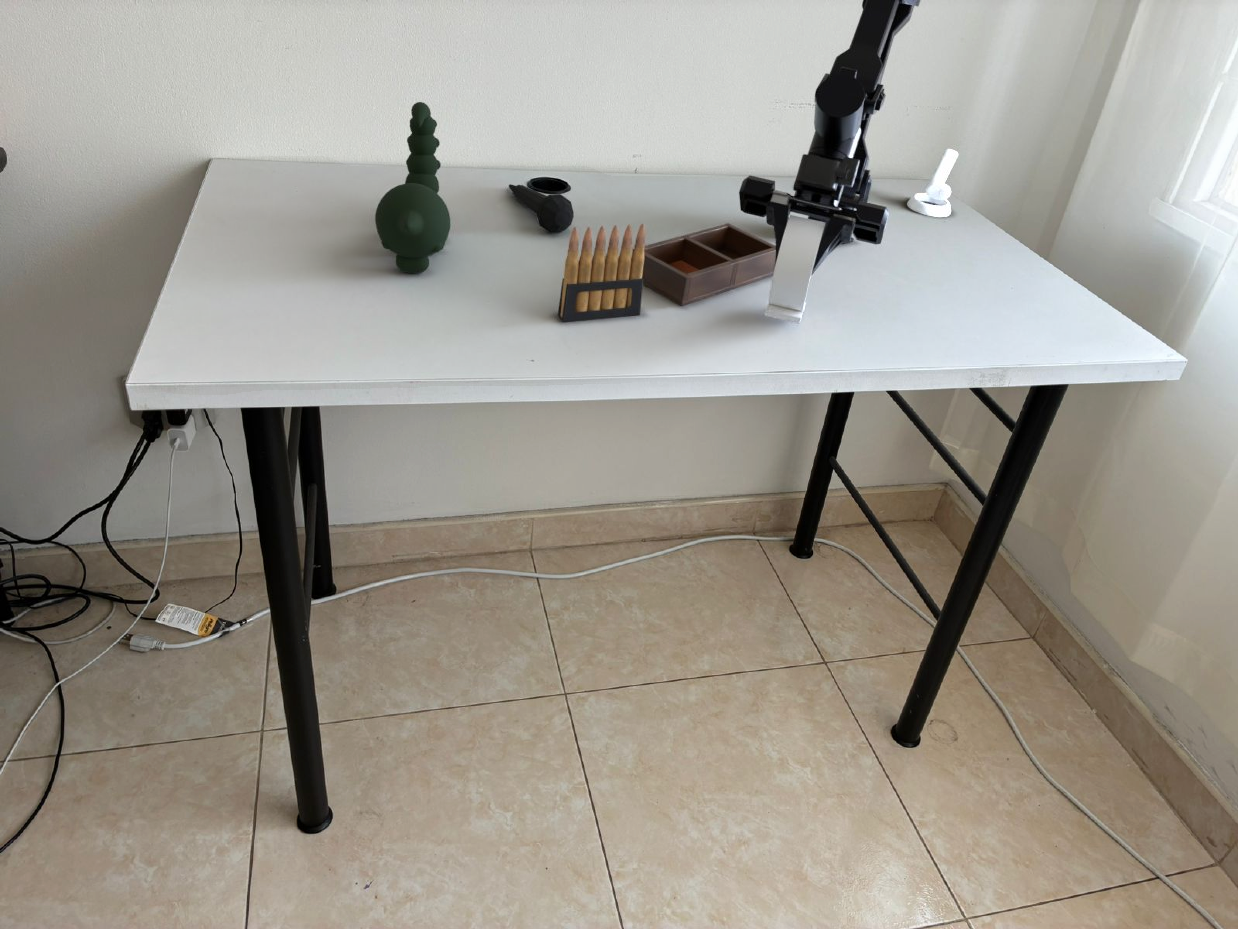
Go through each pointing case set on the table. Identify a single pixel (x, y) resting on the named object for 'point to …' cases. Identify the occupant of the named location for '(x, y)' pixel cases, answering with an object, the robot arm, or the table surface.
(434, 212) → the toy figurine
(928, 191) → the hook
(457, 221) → the table surface
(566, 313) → the ammunition clip
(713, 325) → the table surface
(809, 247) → the headphone stand
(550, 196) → the microphone
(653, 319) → the table surface
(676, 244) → the divided wooden tray
